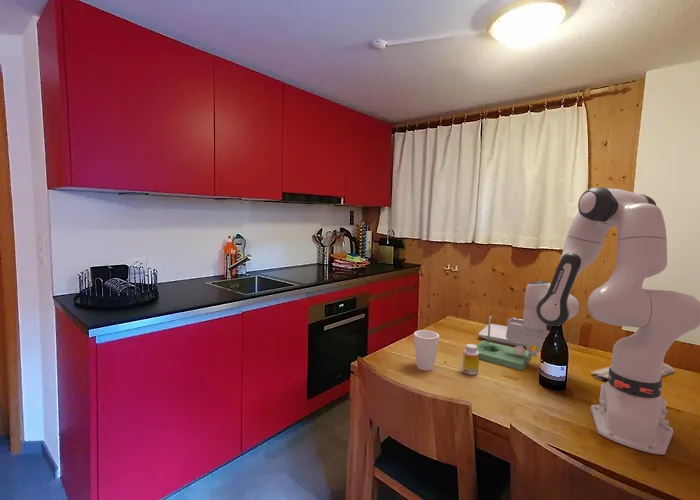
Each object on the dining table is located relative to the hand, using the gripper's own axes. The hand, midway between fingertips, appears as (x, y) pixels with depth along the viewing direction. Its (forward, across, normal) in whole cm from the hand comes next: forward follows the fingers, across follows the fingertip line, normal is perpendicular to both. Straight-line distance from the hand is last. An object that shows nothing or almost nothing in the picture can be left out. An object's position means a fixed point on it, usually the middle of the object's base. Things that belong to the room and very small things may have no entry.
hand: (532, 355), depth 139 cm
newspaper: (+4, +31, +17) cm, 36 cm away
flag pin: (+1, -19, +8) cm, 20 cm away
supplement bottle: (+4, -17, -22) cm, 28 cm away
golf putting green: (+4, -12, 0) cm, 12 cm away
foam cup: (+4, -32, -29) cm, 43 cm away
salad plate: (+4, -16, +25) cm, 30 cm away
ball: (-1, -5, 0) cm, 5 cm away
